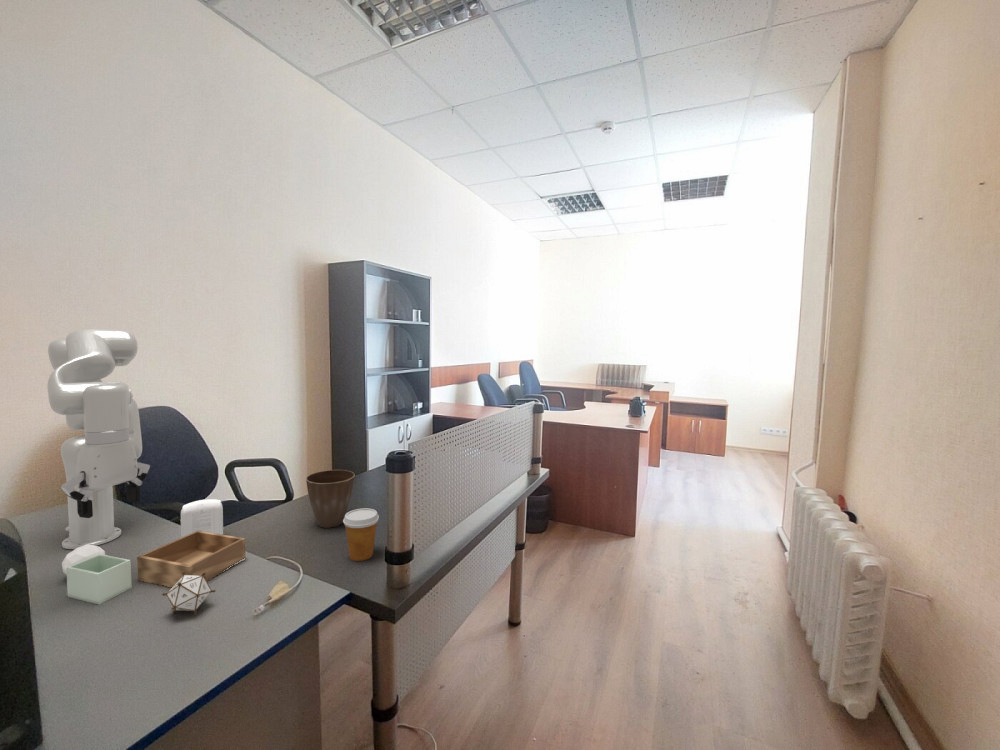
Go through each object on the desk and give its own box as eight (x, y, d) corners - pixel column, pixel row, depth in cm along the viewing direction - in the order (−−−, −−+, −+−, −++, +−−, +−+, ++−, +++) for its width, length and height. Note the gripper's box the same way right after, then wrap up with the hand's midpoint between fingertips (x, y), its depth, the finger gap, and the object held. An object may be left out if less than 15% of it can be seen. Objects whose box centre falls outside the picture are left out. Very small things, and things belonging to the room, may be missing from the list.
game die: (187, 631, 90) (162, 614, 83) (171, 605, 94) (146, 587, 87) (228, 597, 95) (208, 578, 89) (212, 574, 99) (191, 554, 93)
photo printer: (223, 534, 128) (222, 495, 128) (223, 539, 125) (222, 499, 124) (181, 542, 123) (180, 501, 122) (180, 548, 119) (179, 506, 118)
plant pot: (342, 510, 148) (342, 466, 147) (362, 523, 138) (362, 476, 137) (299, 522, 138) (298, 475, 137) (317, 537, 127) (317, 486, 126)
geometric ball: (84, 590, 103) (68, 575, 98) (64, 573, 105) (47, 558, 100) (118, 563, 108) (104, 548, 103) (98, 548, 110) (84, 533, 105)
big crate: (137, 580, 103) (137, 556, 102) (198, 551, 118) (197, 530, 117) (189, 591, 98) (188, 567, 98) (245, 559, 113) (245, 538, 113)
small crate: (67, 596, 95) (66, 567, 95) (101, 581, 102) (100, 553, 101) (98, 604, 93) (97, 574, 92) (131, 588, 99) (130, 560, 99)
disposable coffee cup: (385, 551, 119) (386, 511, 118) (362, 567, 111) (361, 523, 110) (360, 544, 123) (360, 505, 122) (335, 559, 114) (335, 517, 114)
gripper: (135, 429, 106) (138, 495, 107) (48, 444, 89) (52, 522, 90) (158, 431, 104) (160, 498, 105) (73, 446, 87) (77, 525, 88)
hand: (110, 509), depth 97 cm, fingers open, 9 cm apart
